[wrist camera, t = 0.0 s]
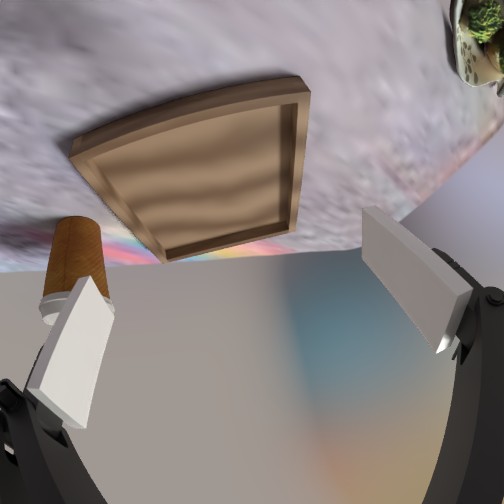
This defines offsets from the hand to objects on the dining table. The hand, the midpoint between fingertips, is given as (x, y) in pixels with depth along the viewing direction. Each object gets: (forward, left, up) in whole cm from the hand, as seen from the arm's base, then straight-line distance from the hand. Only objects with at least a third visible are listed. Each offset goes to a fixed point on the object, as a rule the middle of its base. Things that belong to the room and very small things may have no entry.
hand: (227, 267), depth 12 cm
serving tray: (+13, -1, -15) cm, 20 cm away
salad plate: (-9, +32, -16) cm, 36 cm away
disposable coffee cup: (+14, -19, -16) cm, 29 cm away
